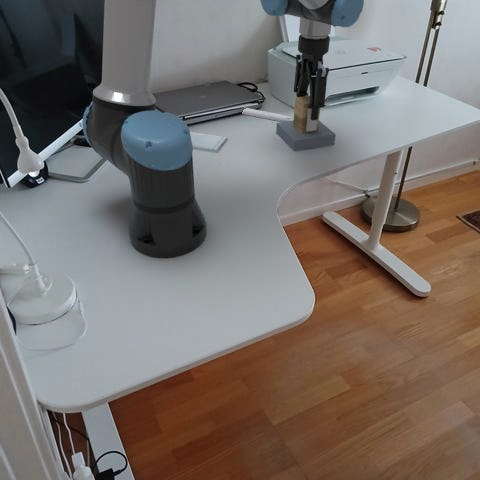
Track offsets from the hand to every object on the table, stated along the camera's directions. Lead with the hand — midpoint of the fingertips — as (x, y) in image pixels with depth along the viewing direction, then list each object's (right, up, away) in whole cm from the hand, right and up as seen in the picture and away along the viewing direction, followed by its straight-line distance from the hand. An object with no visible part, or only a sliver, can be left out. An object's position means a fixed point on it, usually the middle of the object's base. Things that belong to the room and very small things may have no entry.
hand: (305, 125), depth 123 cm
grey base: (0, -3, +2) cm, 4 cm away
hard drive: (-29, -5, 0) cm, 29 cm away
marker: (-10, +6, +14) cm, 18 cm away
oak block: (0, -1, +1) cm, 1 cm away
